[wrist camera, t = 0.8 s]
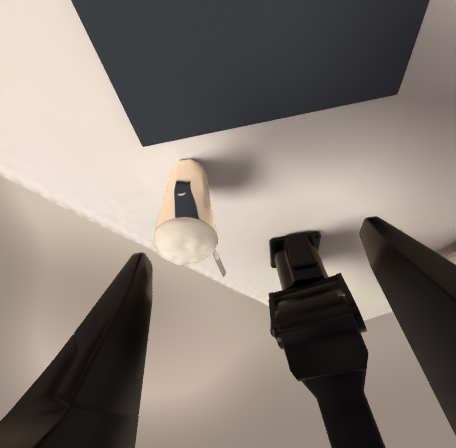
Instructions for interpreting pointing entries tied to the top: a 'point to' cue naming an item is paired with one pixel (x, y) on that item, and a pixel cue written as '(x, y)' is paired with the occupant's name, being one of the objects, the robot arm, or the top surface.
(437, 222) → the top surface
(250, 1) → the mat
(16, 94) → the top surface
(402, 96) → the top surface
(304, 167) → the top surface
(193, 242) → the milkshake
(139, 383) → the robot arm
